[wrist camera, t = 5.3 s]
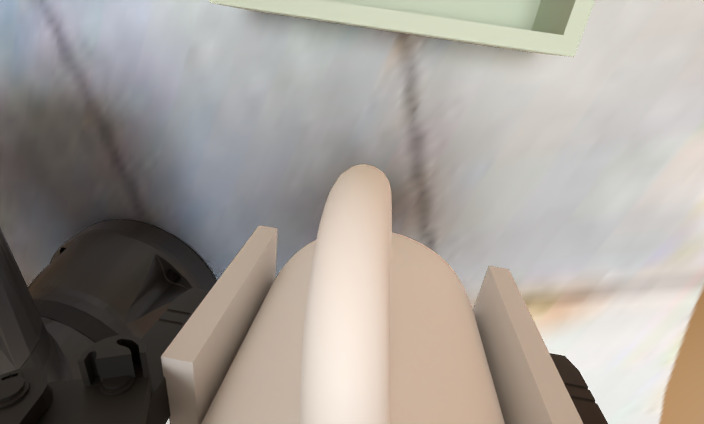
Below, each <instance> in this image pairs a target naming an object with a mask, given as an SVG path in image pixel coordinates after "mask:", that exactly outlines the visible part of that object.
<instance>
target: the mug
mask: <svg viewBox="0 0 704 424" xmlns="http://www.w3.org/2000/svg"><path fill="white" fill-rule="evenodd" d="M201 424H505V422H504V419H503V415H502V412H501V408H500V404H499V401H498V397H497V394H496V390H495V387H494V383H493V380H492V376H491V372H490V369H489V365H488V362H487V358H486V355H485V351H484V348H483V344H482V340H481V337H480V333H479V330H478V326H477V323H476V319H475V316H474V312H473V309H472V306H471V303H470V301H469V298H468V296H467V293H466V291H465V288H464V286H463V285H462V283H461V281H460V280H459V278H458V276H457V275H456V273H455V272H454V270H453V269H452V268H451V267H450V266H449V264H448V263H447V262H446V261H445V260H444V259H443V258H441V257H440V256H439V255H438V254H437V253H435V252H434V251H433V250H431V249H430V248H428V247H427V246H425V245H423V244H421V243H419V242H417V241H415V240H413V239H411V238H409V237H406V236H403V235H401V234H397V233H393V232H392V197H391V188H390V183H389V181H388V179H387V178H386V176H385V174H384V173H383V172H382V171H380V170H379V169H377V168H376V167H374V166H371V165H366V164H361V165H356V166H352V167H351V168H349V169H348V170H346V171H345V172H343V173H342V174H341V175H340V176H339V178H338V179H337V181H336V182H335V184H334V186H333V187H332V189H331V191H330V193H329V196H328V198H327V201H326V203H325V207H324V210H323V214H322V217H321V221H320V225H319V229H318V234H317V238H316V240H315V241H313V242H311V243H309V244H307V245H306V246H305V247H303V248H302V249H300V250H299V251H298V252H297V253H296V254H295V255H294V256H293V257H292V258H291V259H290V260H289V261H288V262H287V263H286V264H285V266H284V267H283V268H282V270H281V271H280V272H279V274H278V275H277V277H276V278H275V280H274V282H273V284H272V286H271V288H270V290H269V291H268V293H267V295H266V297H265V299H264V301H263V303H262V305H261V307H260V309H259V311H258V313H257V315H256V317H255V319H254V321H253V323H252V325H251V327H250V329H249V331H248V333H247V335H246V337H245V339H244V341H243V342H242V344H241V346H240V348H239V350H238V352H237V354H236V356H235V358H234V360H233V362H232V364H231V366H230V368H229V370H228V372H227V374H226V376H225V378H224V380H223V382H222V384H221V386H220V388H219V390H218V392H217V394H216V395H215V397H214V399H213V401H212V403H211V405H210V407H209V409H208V411H207V413H206V415H205V417H204V419H203V421H202V423H201Z"/></svg>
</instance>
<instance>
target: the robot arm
mask: <svg viewBox="0 0 704 424" xmlns="http://www.w3.org/2000/svg"><path fill="white" fill-rule="evenodd" d="M277 235H278V229H277V228H272V227H266V226H260V225H259V226H258V227H257V229H256V230H255V231H254V233H253V234H252V235H251V237H250V238H249V239H248V241H247V242H246V243H245V245H244V246H243V247H242V249H241V250H240V251H239V253H238V254H237V255H236V257H235V258H234V259H233V261H232V262H231V263H230V265H229V266H228V267H227V269H226V270H225V271H224V273H223V274H222V275H221V277H220V278H219V279H218V281H217V282H216V281H215V279H214V277H213V275H212V274H211V272H210V270H209V269H208V267H207V266H206V265H205V263H204V262H203V261H202V260H201V259H200V258H199V256H198V255H197V254H196V253H195V252H194V251H192V250H191V249H190V248H189V247H188V246H187V245H185V244H184V243H183V242H181V241H180V240H179V239H177V238H176V237H174V236H172V235H171V234H169V233H167V232H165V231H163V230H161V229H159V228H156V227H154V226H151V225H148V224H145V223H141V222H137V221H131V220H108V221H103V222H100V223H97V224H94V225H92V226H90V227H89V228H87V229H85V230H83V231H82V232H80V233H78V234H77V235H75V236H73V237H72V238H70V239H69V240H67V241H66V242H65V243H64V244H63V245H62V246H61V247H60V248H59V249H58V250H57V252H56V253H55V254H54V256H53V258H52V259H51V262H50V264H49V265H48V266H47V267H46V268H45V269H44V270H43V271H42V272H41V273H40V274H39V275H38V276H37V277H36V278H35V279H34V281H33V282H32V283H31V284H30V285H29V287H27V285H26V283H25V281H24V279H23V276H22V274H21V272H20V270H19V268H18V265H17V263H16V261H15V259H14V257H13V254H12V252H11V250H10V248H9V246H8V243H7V241H6V239H5V237H4V234H3V232H2V230H1V228H0V424H166V422H167V420H168V419H170V424H201V423H202V421H203V419H204V417H205V415H206V413H207V411H208V409H209V407H210V405H211V403H212V401H213V399H214V397H215V395H216V394H217V392H218V390H219V388H220V386H221V384H222V382H223V380H224V378H225V376H226V374H227V372H228V370H229V368H230V366H231V364H232V362H233V360H234V358H235V356H236V354H237V352H238V350H239V348H240V346H241V344H242V342H243V341H244V339H245V337H246V335H247V333H248V331H249V329H250V327H251V325H252V323H253V321H254V319H255V317H256V315H257V313H258V311H259V309H260V307H261V305H262V303H263V301H264V299H265V297H266V295H267V293H268V291H269V290H270V288H271V286H272V284H273V282H274V280H275V275H276V255H277ZM473 312H474V316H475V319H476V323H477V326H478V330H479V333H480V337H481V340H482V344H483V348H484V351H485V355H486V358H487V362H488V365H489V369H490V372H491V376H492V380H493V383H494V387H495V390H496V394H497V397H498V401H499V404H500V408H501V412H502V415H503V419H504V422H505V424H608V423H607V421H606V419H605V417H604V416H603V414H602V412H601V410H600V408H599V406H598V405H597V404H596V403H595V399H594V397H593V396H592V394H591V392H590V390H588V386H587V385H586V383H585V381H584V379H583V377H582V375H581V374H580V372H579V370H578V369H577V368H576V367H575V366H574V365H573V364H572V363H571V362H570V361H569V360H568V359H567V358H566V357H565V356H562V355H556V354H551V353H549V352H548V349H547V347H546V345H545V343H544V341H543V339H542V337H541V335H540V333H539V331H538V329H537V327H536V325H535V323H534V320H533V318H532V316H531V314H530V312H529V310H528V308H527V306H526V304H525V302H524V300H523V298H522V296H521V294H520V292H519V289H518V287H517V285H516V283H515V281H514V279H513V277H512V275H511V273H510V271H509V269H504V268H499V267H493V266H489V267H488V269H487V272H486V275H485V278H484V280H483V283H482V286H481V289H480V291H479V294H478V297H477V300H476V302H475V305H474V308H473Z"/></svg>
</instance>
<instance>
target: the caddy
mask: <svg viewBox="0 0 704 424" xmlns="http://www.w3.org/2000/svg"><path fill="white" fill-rule="evenodd" d="M210 3H215V4H220V5H225V6H230V7H236V8H241V9H246V10H251V11H257V12H264V13H271V14H277V15H284V16H291V17H297V18H304V19H311V20H317V21H324V22H331V23H337V24H344V25H351V26H358V27H364V28H371V29H378V30H384V31H391V32H398V33H404V34H411V35H418V36H424V37H431V38H438V39H445V40H451V41H458V42H465V43H471V44H478V45H485V46H491V47H498V48H505V49H511V50H518V51H525V52H531V53H540V54H550V55H560V56H570V57H574V56H575V53H576V50H577V48H578V45H579V43H580V40H581V37H582V35H583V32H584V29H585V27H586V24H587V21H588V19H589V16H590V13H591V11H592V8H593V5H594V3H595V0H210Z"/></svg>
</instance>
